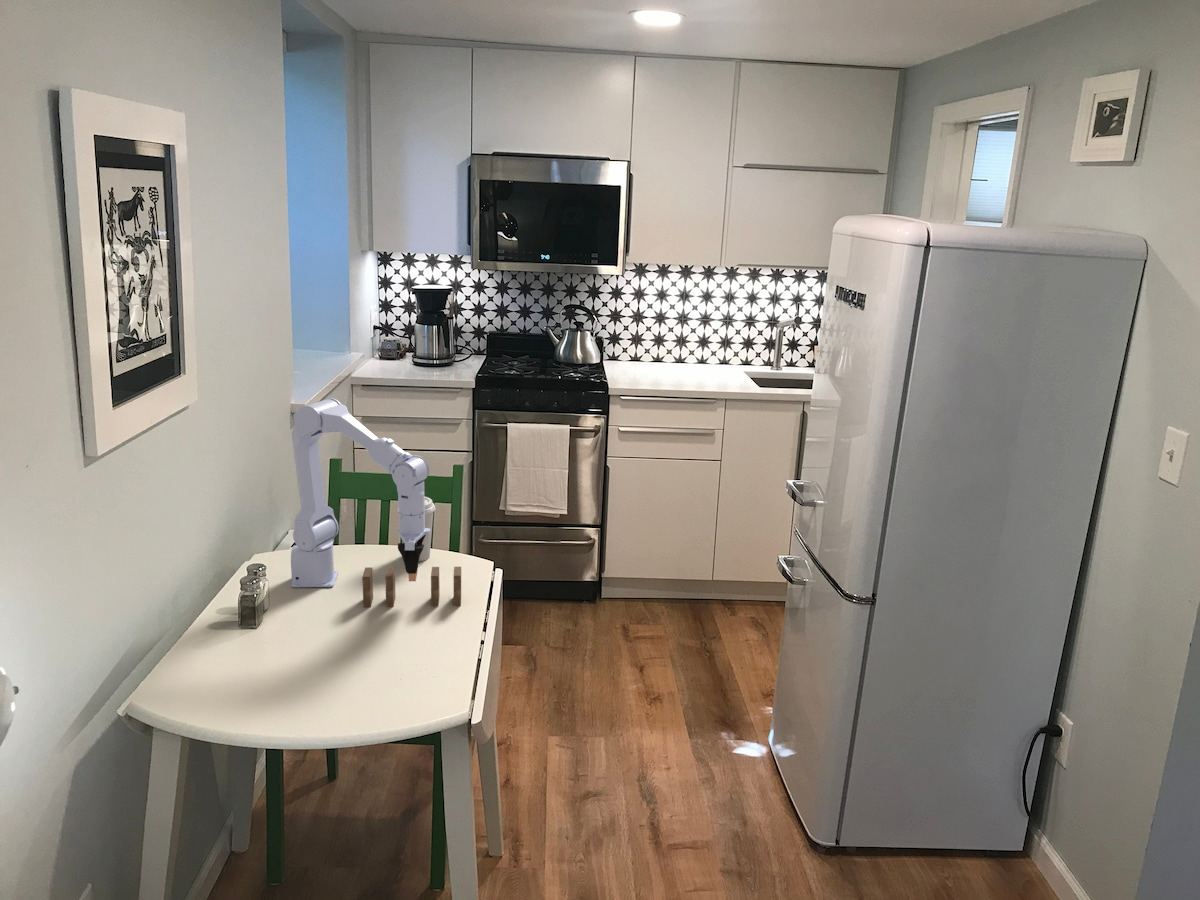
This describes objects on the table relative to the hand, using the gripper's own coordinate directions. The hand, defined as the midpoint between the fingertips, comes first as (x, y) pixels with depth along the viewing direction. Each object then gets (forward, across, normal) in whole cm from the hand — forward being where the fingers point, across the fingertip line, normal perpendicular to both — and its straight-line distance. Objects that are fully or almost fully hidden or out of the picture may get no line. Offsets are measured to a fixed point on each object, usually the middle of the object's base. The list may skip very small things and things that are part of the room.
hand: (412, 567), depth 211 cm
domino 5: (+8, 0, -10) cm, 13 cm away
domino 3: (+2, 0, 0) cm, 2 cm away
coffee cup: (+8, +26, +1) cm, 27 cm away
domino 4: (+8, 0, -5) cm, 10 cm away
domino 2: (+8, 0, +5) cm, 10 cm away
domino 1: (+8, 0, +10) cm, 13 cm away
